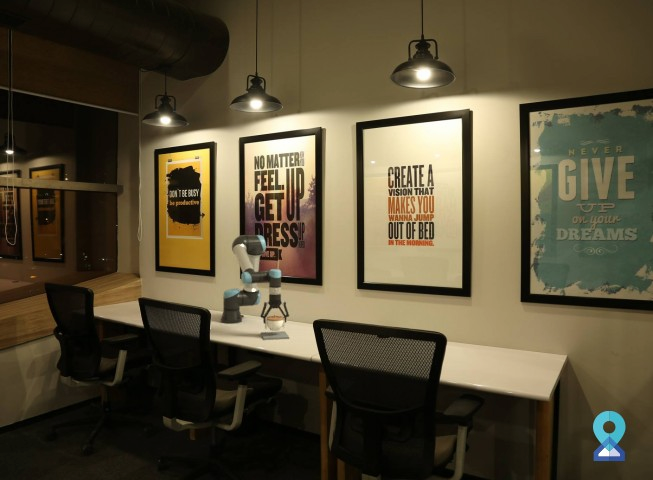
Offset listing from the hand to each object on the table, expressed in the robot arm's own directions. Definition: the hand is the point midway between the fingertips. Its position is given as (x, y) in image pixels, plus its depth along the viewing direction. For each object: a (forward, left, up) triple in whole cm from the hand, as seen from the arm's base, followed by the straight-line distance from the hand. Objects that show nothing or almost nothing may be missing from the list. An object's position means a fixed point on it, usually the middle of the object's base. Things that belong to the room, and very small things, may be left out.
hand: (274, 328), depth 304 cm
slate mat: (0, 0, -5) cm, 5 cm away
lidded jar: (0, 0, -1) cm, 1 cm away
